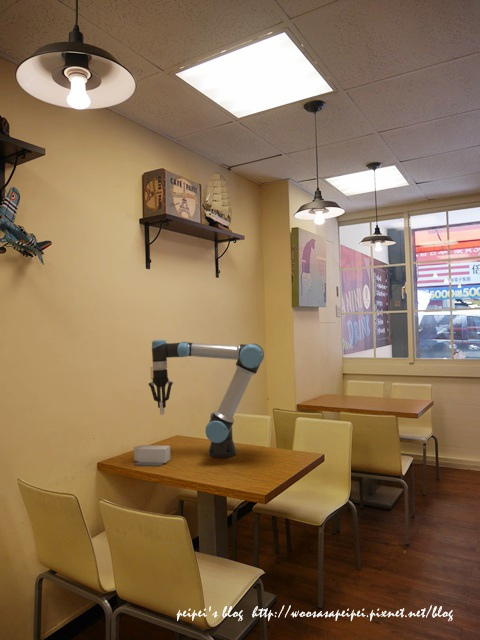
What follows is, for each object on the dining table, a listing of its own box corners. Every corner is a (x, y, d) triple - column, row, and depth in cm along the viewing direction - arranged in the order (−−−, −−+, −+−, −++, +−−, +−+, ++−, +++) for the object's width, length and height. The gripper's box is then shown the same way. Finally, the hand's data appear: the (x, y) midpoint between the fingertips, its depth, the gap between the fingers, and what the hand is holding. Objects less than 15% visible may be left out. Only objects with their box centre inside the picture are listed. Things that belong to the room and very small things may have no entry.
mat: (167, 459, 246) (167, 457, 246) (160, 466, 234) (160, 464, 234) (142, 459, 248) (142, 457, 248) (134, 465, 236) (134, 464, 236)
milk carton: (165, 449, 236) (131, 448, 240) (165, 463, 236) (131, 462, 240) (170, 445, 243) (136, 445, 247) (170, 459, 243) (137, 458, 247)
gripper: (174, 368, 246) (176, 412, 245) (150, 369, 247) (152, 413, 247) (170, 369, 238) (172, 415, 238) (145, 370, 240) (148, 415, 239)
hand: (162, 414), depth 242 cm, fingers closed
